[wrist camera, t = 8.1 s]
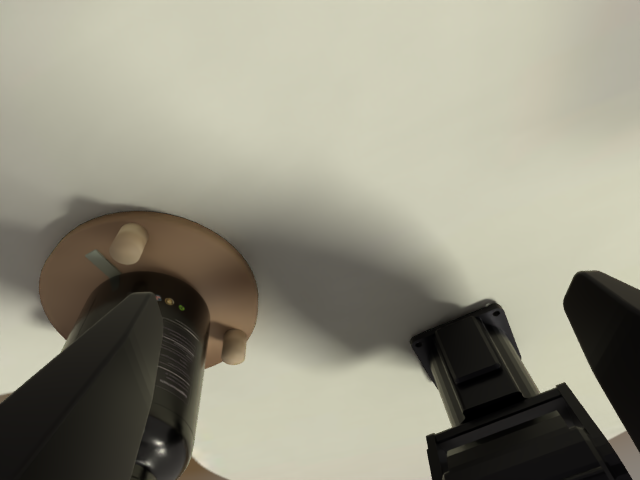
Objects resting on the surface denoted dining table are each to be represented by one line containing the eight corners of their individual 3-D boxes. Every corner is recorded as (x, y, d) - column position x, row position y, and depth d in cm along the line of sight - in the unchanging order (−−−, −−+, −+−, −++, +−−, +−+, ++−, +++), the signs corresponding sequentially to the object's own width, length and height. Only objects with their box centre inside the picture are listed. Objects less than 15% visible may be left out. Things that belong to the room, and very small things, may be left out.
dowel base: (293, 318, 27) (295, 350, 25) (147, 384, 30) (136, 417, 27) (172, 172, 21) (160, 197, 18) (-3, 271, 23) (-31, 304, 21)
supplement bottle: (183, 362, 27) (134, 597, 17) (73, 326, 24) (-58, 582, 15) (234, 294, 24) (208, 534, 14) (114, 245, 21) (-17, 500, 12)
